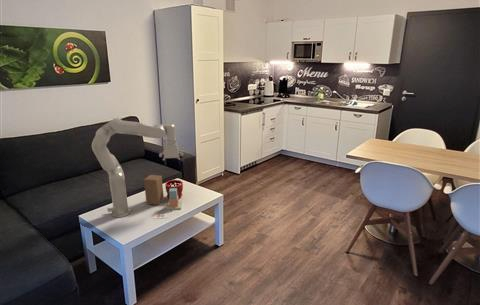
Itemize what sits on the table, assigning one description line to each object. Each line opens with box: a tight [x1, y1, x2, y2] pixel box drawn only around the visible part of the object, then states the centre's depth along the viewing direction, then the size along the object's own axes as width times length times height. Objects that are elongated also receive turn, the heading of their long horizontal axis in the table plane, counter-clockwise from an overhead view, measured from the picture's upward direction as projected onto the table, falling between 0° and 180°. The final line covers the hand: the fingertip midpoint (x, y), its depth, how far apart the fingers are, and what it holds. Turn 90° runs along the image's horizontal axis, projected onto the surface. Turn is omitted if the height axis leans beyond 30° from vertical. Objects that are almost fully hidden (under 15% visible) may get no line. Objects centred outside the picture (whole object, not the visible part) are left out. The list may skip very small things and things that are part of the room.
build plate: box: [166, 201, 183, 211], centre depth 229 cm, size 10×10×1 cm
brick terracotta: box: [168, 196, 180, 207], centre depth 228 cm, size 6×6×6 cm
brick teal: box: [169, 188, 177, 199], centre depth 226 cm, size 5×5×6 cm
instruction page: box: [153, 213, 168, 220], centre depth 215 cm, size 8×6×1 cm
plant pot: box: [164, 179, 184, 199], centre depth 242 cm, size 13×13×12 cm
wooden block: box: [143, 174, 165, 206], centre depth 233 cm, size 10×10×20 cm
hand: (172, 164), depth 225 cm, fingers open, 9 cm apart
